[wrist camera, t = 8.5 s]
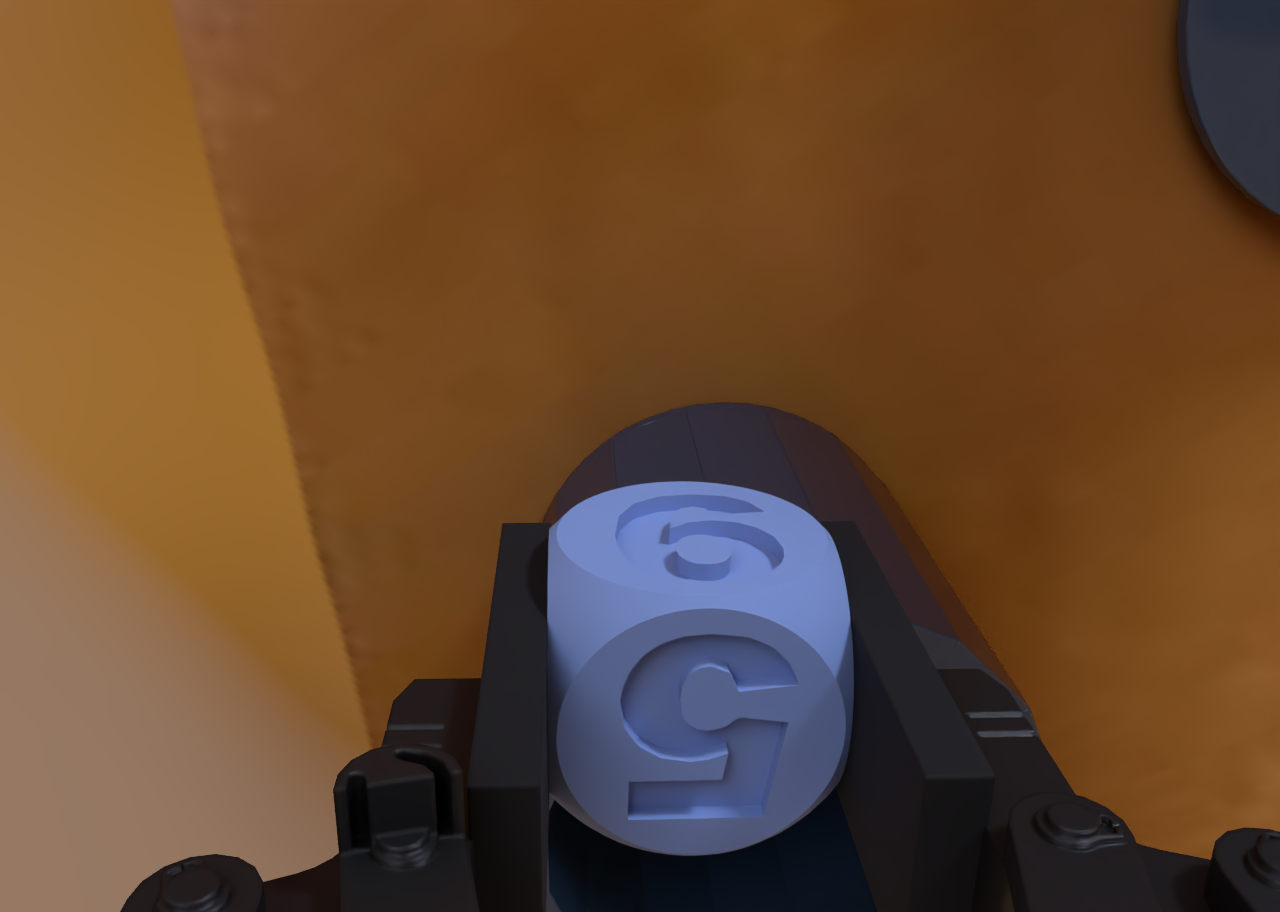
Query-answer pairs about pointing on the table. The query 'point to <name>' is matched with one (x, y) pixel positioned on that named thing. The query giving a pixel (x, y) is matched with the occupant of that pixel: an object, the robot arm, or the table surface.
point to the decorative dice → (695, 666)
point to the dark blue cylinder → (822, 841)
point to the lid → (1235, 89)
